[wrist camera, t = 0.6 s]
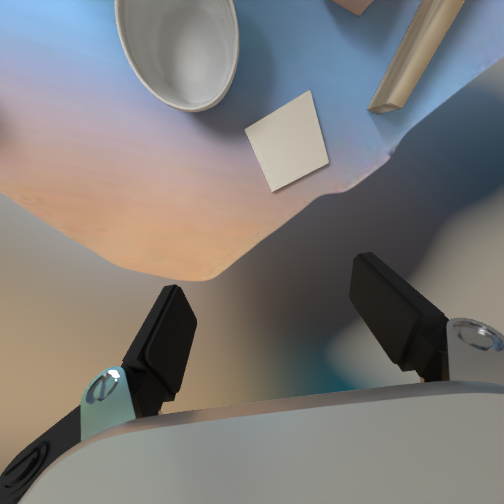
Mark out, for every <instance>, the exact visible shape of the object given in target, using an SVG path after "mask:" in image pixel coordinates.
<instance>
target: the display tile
mask: <svg viewBox="0 0 504 504" xmlns="http://www.w3.org/2000/svg"><path fill="white" fill-rule="evenodd" d="M244 130H245V132H246V135H247V137H248V139H249V141H250V144H251V146H252V148H253V151H254V153H255V155H256V157H257V160H258V162H259V164H260V167H261V169H262V171H263V173H264V176H265V178H266V180H267V183H268V185H269V187H270V189H271V192H273V191H275V190H277V189H279V188H281V187H283V186H285V185H287V184H289V183H291V182H293V181H295V180H297V179H299V178H300V177H302V176H304V175H306V174H308V173H310V172H312V171H314V170H316V169H318V168H320V167H322V166H324V165H326V164H328V163H329V160H328V157H327V153H326V149H325V145H324V141H323V137H322V133H321V130H320V126H319V122H318V118H317V114H316V110H315V106H314V103H313V99H312V95H311V91H310V90H308V91H307V92H305V93H303V94H302V95H300V96H298V97H297V98H295V99H293V100H292V101H290V102H289V103H287V104H285V105H284V106H282V107H280V108H279V109H277V110H275V111H274V112H272V113H270V114H269V115H267V116H266V117H264V118H262V119H261V120H259V121H257V122H256V123H254V124H252V125H251V126H249V127H247V128H246V129H244Z"/></svg>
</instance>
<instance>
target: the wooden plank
mask: <svg viewBox="0 0 504 504" xmlns="http://www.w3.org/2000/svg"><path fill="white" fill-rule="evenodd" d="M464 2H465V0H422V2H421V4H420V6H419V8H418V10H417V12H416V14H415V16H414V18H413V20H412V22H411V24H410V25H409V27H408V29H407V31H406V33H405V35H404V37H403V39H402V41H401V43H400V45H399V47H398V49H397V51H396V53H395V55H394V57H393V59H392V61H391V63H390V65H389V67H388V69H387V71H386V73H385V75H384V77H383V79H382V80H381V82H380V84H379V86H378V88H377V90H376V92H375V94H374V96H373V98H372V100H371V102H370V104H369V106H368V108H367V110H369V111H372V112H374V113H376V114H380V113H384V112H389V111H393V110H397V109H402V108H403V106H404V104H405V103H406V101H407V99H408V98H409V96H410V94H411V92H412V91H413V89H414V87H415V86H416V84H417V82H418V80H419V79H420V77H421V75H422V74H423V72H424V70H425V68H426V67H427V65H428V63H429V62H430V60H431V58H432V56H433V55H434V53H435V51H436V50H437V48H438V46H439V44H440V43H441V41H442V39H443V38H444V36H445V34H446V32H447V31H448V29H449V27H450V26H451V24H452V22H453V20H454V19H455V17H456V15H457V14H458V12H459V10H460V8H461V7H462V5H463V3H464Z"/></svg>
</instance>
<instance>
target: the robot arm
mask: <svg viewBox="0 0 504 504" xmlns="http://www.w3.org/2000/svg"><path fill="white" fill-rule="evenodd" d="M349 297H350V300H351V302H352V304H353V305H354V307H355V308H356V309H357V311H358V312H359V314H360V315H361V317H362V318H363V320H364V321H365V323H366V324H367V326H368V327H369V329H370V330H371V332H372V333H373V335H374V336H375V338H376V339H377V340H378V342H379V343H380V345H381V346H382V348H383V349H384V351H385V352H386V354H387V355H388V357H389V358H390V360H391V361H392V362H393V363H394V364H398V366H399V367H400V369H401V370H402V371H403V372H404V371H412V370H416V372H417V373H418V375H419V376H420V383H416V384H405V385H395V386H385V387H377V388H369V389H360V390H352V391H343V392H335V393H326V394H318V395H310V396H302V397H295V398H285V399H277V400H269V401H261V402H253V403H246V404H237V405H230V406H222V407H214V408H206V409H199V410H191V411H184V412H177V413H170V414H162V412H161V406H162V404H163V402H169V401H174V399H175V395H176V393H177V392H179V390H180V387H181V384H182V380H183V376H184V372H185V368H186V365H187V361H188V357H189V353H190V349H191V346H192V342H193V338H194V334H195V330H196V327H197V319H196V317H195V315H194V313H193V311H192V309H191V307H190V305H189V303H188V301H187V299H186V297H185V295H184V293H183V291H182V289H181V287H178V286H177V285H169V286H165V287H164V288H163V289H162V291H161V293H160V295H159V297H158V298H157V300H156V302H155V304H154V305H153V307H152V309H151V311H150V312H149V314H148V316H147V318H146V319H145V321H144V323H143V325H142V327H141V329H140V330H139V332H138V334H137V335H136V337H135V339H134V341H133V343H132V344H131V346H130V348H129V350H128V351H127V353H126V355H125V357H124V358H123V360H122V361H123V363H122V365H121V367H119V366H114V367H111V368H108V369H106V370H105V371H103V372H101V373H100V374H99V375H98V376H96V377H95V378H94V379H93V380H92V381H91V382H90V384H89V385H88V387H87V388H86V389H85V391H84V393H83V395H82V397H81V404H80V405H79V406H78V407H76V408H75V409H74V410H73V411H71V412H70V413H69V414H68V415H67V416H65V417H64V418H62V419H61V420H60V421H59V422H57V423H56V424H55V425H54V426H52V427H51V428H50V429H49V430H47V431H46V432H45V433H43V434H42V435H41V436H40V437H38V438H37V439H36V440H35V441H33V442H32V443H31V444H30V445H28V446H27V447H26V448H25V449H24V450H23V451H21V452H20V453H19V454H18V455H17V456H16V457H15V458H14V459H13V460H12V462H11V463H10V464H9V465H8V466H7V467H6V469H5V470H4V472H3V473H2V474H1V476H0V504H504V336H503V335H502V334H501V333H500V332H498V331H497V330H495V329H494V328H492V327H490V326H488V325H486V324H484V323H482V322H478V321H476V320H472V319H467V318H454V319H451V320H449V319H448V318H447V317H446V316H444V313H443V312H441V311H440V310H439V309H438V308H437V307H436V306H434V305H433V304H432V303H431V302H429V301H428V300H427V299H426V298H425V297H424V296H423V295H421V294H420V293H419V292H418V291H417V290H415V289H414V288H413V287H412V286H411V285H410V284H408V283H407V282H406V281H405V280H404V279H403V278H401V277H400V276H399V275H398V274H397V273H395V272H394V271H393V270H392V269H391V268H389V267H388V266H387V265H386V264H385V263H384V262H383V261H381V260H380V259H379V258H378V257H377V256H375V255H374V254H373V253H372V252H366V253H360V254H358V255H357V257H355V258H354V261H353V270H352V278H351V286H350V294H349Z"/></svg>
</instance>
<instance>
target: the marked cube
mask: <svg viewBox="0 0 504 504" xmlns="http://www.w3.org/2000/svg"><path fill="white" fill-rule="evenodd" d="M331 1H333V2H335V3H337V4H338V5H340V6H342V7H343V8H345V9H347V10H349V11H350V12H352V13H354V14H355V15H357V16H360V15H361V14H362V13H363V12H364V10H365V9H366V8H367V7H368V6H369V5H370V4H371V3H372V2H373V0H331Z"/></svg>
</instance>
